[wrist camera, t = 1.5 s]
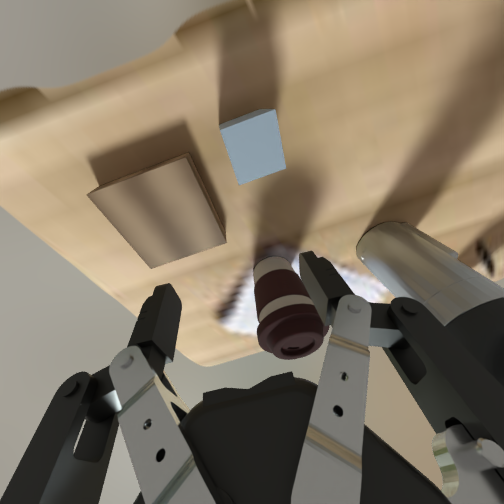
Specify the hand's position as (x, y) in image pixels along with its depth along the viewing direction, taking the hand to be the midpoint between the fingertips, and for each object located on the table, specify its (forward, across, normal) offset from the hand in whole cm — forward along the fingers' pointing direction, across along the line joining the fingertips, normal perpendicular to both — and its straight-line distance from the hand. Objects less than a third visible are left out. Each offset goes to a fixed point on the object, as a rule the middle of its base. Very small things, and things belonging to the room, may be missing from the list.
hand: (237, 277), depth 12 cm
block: (+18, -4, -5) cm, 19 cm away
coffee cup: (+18, -5, +17) cm, 26 cm away
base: (+18, +8, +2) cm, 20 cm away
